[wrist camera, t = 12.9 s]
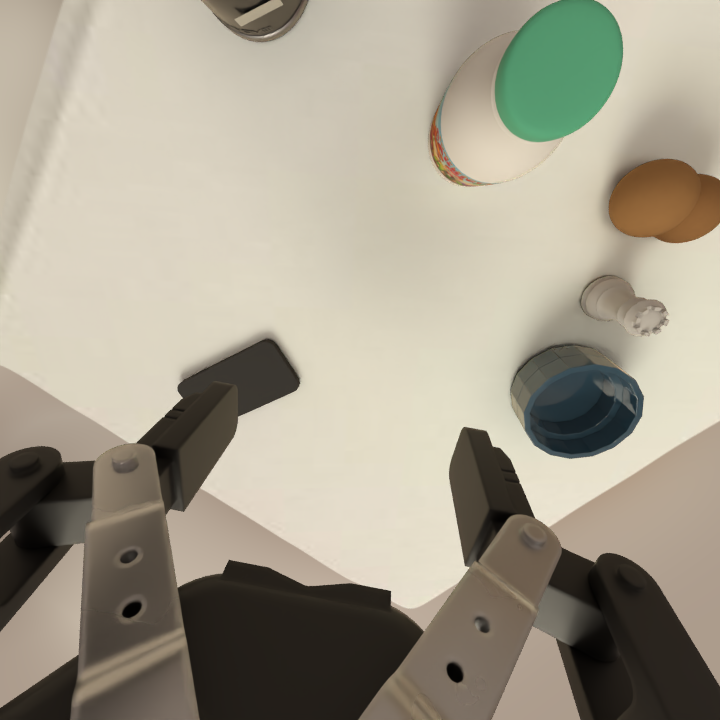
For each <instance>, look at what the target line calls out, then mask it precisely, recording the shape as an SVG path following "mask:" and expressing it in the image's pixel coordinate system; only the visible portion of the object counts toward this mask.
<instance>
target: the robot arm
mask: <svg viewBox="0 0 720 720" xmlns="http://www.w3.org/2000/svg"><path fill="white" fill-rule="evenodd" d="M201 1H202V2H203V3H204V4H205V5H206V6H207V7H208V8H209V9H210V10H211V11H212V12H213V13H214V15H215V16H216V17H217V18H218V19H219V20H220V21H221V22H222V23H223V24H224V25H225V26H226V27H227V28H228V29H229V30H231V31H232V32H233V33H235V34H236V35H238V36H240V37H242V38H244V39H247V40H250V41H255V42H266V41H271V40H274V39H277V38H279V37H281V36H282V35H284V34H285V33H287V32H288V31H289V30H290V29H291V28H292V27H293V26H294V25H295V24H296V23H297V21H298V20H299V18H300V17H301V15H302V13H303V12H304V9H305V7H306V5H307V2H308V0H201ZM237 423H238V389H237V386H236V385H233V384H228V383H222V382H217V381H214V382H212V383H211V384H210V385H209V386H208V387H207V388H206V389H205V390H204V391H203V392H202V393H198V392H195V393H193V394H191V395H189V396H187V397H185V398H183V399H181V400H180V401H179V402H178V403H177V404H176V405H175V406H174V407H173V409H172V410H170V411H169V412H168V413H167V414H166V415H165V417H163V418H162V419H161V420H160V421H159V422H157V423H156V424H155V425H154V426H153V427H152V428H151V429H150V430H149V431H148V432H147V433H146V434H145V435H144V436H143V437H142V438H141V439H140V440H139V441H138V442H137V443H132V444H124V445H120V446H117V447H114V448H112V449H110V450H108V451H106V452H105V453H103V454H102V455H101V456H99V457H98V458H97V460H96V461H82V462H62V458H61V454H60V453H59V451H57V450H56V449H54V448H51V447H45V446H41V447H40V446H39V447H30V448H25V449H22V450H19V451H15V452H13V453H10V454H8V455H6V456H4V457H2V458H1V459H0V538H1V537H2V536H3V535H4V534H5V533H6V532H7V531H9V530H10V532H11V533H10V534H9V535H8V536H7V537H6V538H5V539H4V540H3V541H2V542H1V543H0V631H1V630H2V629H3V628H4V627H5V626H6V624H7V623H8V622H9V621H10V620H11V618H12V617H13V616H14V615H15V614H16V612H17V611H18V610H19V609H20V608H21V606H22V605H23V604H24V603H25V602H26V601H27V599H28V598H29V597H30V596H31V595H32V593H33V592H34V591H35V590H36V589H37V587H38V586H39V585H40V584H41V583H42V582H43V580H44V579H45V578H46V577H47V576H48V574H49V573H50V572H51V571H52V570H53V568H54V567H55V566H56V565H57V564H58V562H59V561H60V560H61V559H62V558H63V556H64V555H65V554H66V553H67V552H68V551H69V549H70V548H71V547H72V546H73V545H74V544H80V543H84V561H83V581H82V601H81V621H80V639H79V655H77V656H76V657H75V658H73V659H72V660H70V661H69V662H67V663H66V664H64V665H63V666H61V667H60V668H58V669H57V670H55V671H54V672H52V673H51V674H49V676H47V677H45V678H44V679H42V680H41V681H39V682H38V683H36V684H35V685H33V686H32V687H30V688H29V689H28V690H26V691H25V692H23V693H22V694H20V695H19V696H17V697H16V698H14V699H13V700H11V701H10V702H9V703H7V704H6V705H4V706H3V707H1V708H0V720H491V719H492V717H493V715H494V712H495V710H496V708H497V706H498V703H499V701H500V699H501V696H502V694H503V692H504V690H505V687H506V685H507V683H508V680H509V678H510V676H511V674H512V671H513V669H514V667H515V664H516V662H517V660H518V657H519V655H520V653H521V651H522V649H523V646H524V644H525V641H526V639H527V637H528V635H529V633H530V630H531V628H532V626H533V627H535V628H537V629H539V630H541V631H543V632H545V633H547V634H549V635H551V636H552V637H554V638H556V640H557V644H558V647H559V650H560V653H561V657H562V660H563V663H564V667H565V670H566V673H567V676H568V680H569V683H570V686H571V690H572V693H573V696H574V700H575V703H576V706H577V709H578V713H579V716H580V719H581V720H720V686H719V685H718V683H717V681H716V680H715V678H714V676H713V675H712V673H711V671H710V670H709V668H708V666H707V665H706V663H705V661H704V660H703V658H702V657H701V655H700V653H699V652H698V650H697V648H696V647H695V645H694V643H693V642H692V640H691V638H690V637H689V635H688V633H687V632H686V630H685V629H684V627H683V625H682V624H681V622H680V620H679V619H678V617H677V615H676V614H675V612H674V611H673V609H672V607H671V605H670V604H669V602H668V601H667V599H666V597H665V596H664V594H663V593H662V591H661V589H660V587H659V586H658V585H657V583H656V582H655V580H654V579H653V578H652V577H651V576H650V575H649V574H648V573H647V572H646V571H645V570H644V569H643V568H641V567H640V566H639V565H637V564H636V563H634V562H633V561H631V560H629V559H627V558H625V557H623V556H620V555H617V554H612V553H605V554H602V555H600V556H599V558H598V559H597V560H596V562H595V563H594V562H592V561H590V560H588V559H585V558H583V557H581V556H579V555H576V554H574V553H572V552H570V551H568V550H566V549H563V548H562V547H561V544H560V542H559V540H558V538H557V536H556V535H555V534H554V533H553V531H552V530H551V529H550V528H548V527H547V526H546V525H545V524H543V523H542V522H540V521H539V520H537V519H535V517H534V514H533V512H532V510H531V507H530V505H529V503H528V500H527V498H526V495H525V493H524V491H523V488H522V486H521V484H519V482H520V481H519V479H518V476H517V474H515V469H514V467H513V465H512V462H511V460H510V459H509V458H508V456H507V455H506V454H505V453H504V452H503V451H502V450H501V449H500V448H496V447H493V446H492V444H491V441H490V438H489V436H488V433H487V431H484V430H478V429H473V428H467V427H464V428H463V429H462V430H461V433H460V436H459V439H458V442H457V445H456V448H455V451H454V453H453V456H452V459H451V463H450V469H449V479H450V485H451V491H452V496H453V502H454V507H455V513H456V518H457V524H458V530H459V535H460V541H461V546H462V552H463V557H464V563H465V566H468V567H470V568H469V569H468V571H467V572H466V574H465V575H464V576H463V578H462V579H461V581H460V582H459V583H458V585H457V586H456V588H455V589H454V591H453V592H452V593H451V595H450V596H449V597H448V599H447V600H446V602H445V603H444V605H443V606H442V607H441V609H440V610H439V612H438V613H437V614H436V616H435V617H434V619H433V620H432V621H431V623H430V624H429V626H428V627H427V629H426V630H425V631H423V630H422V629H421V628H420V627H419V626H418V625H417V624H416V623H415V622H414V621H413V620H412V619H410V618H409V617H408V616H407V615H405V614H404V613H403V612H401V611H399V610H398V609H396V608H394V607H392V606H391V591H388V590H383V589H378V588H373V587H367V586H362V585H357V584H350V583H349V584H335V585H323V586H305V585H303V584H301V583H299V582H296V581H295V580H293V579H290V578H288V577H286V576H284V575H282V574H280V573H278V572H276V571H274V570H272V569H270V568H268V567H262V566H257V565H252V564H247V563H242V562H237V561H231V560H229V561H228V563H227V565H226V567H225V570H224V572H223V574H215V575H210V576H205V577H202V578H199V579H195V580H193V581H191V582H188V583H186V584H184V585H182V586H180V587H178V588H177V582H176V576H175V569H174V564H173V557H172V551H171V545H170V539H169V533H168V527H167V521H166V514H167V513H168V511H169V510H170V509H173V510H178V511H183V512H184V511H185V509H186V507H187V506H188V505H189V503H190V502H191V500H192V499H193V497H194V495H195V494H196V493H197V491H198V490H199V488H200V487H201V485H202V484H203V482H204V481H205V479H206V478H207V476H208V475H209V473H210V472H211V470H212V469H213V467H214V466H215V464H216V463H217V461H218V460H219V458H220V457H221V455H222V454H223V452H224V451H225V449H226V448H227V446H228V445H229V443H230V442H231V440H232V439H233V437H234V435H235V432H236V429H237Z"/></svg>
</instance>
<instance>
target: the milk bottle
mask: <svg viewBox="0 0 720 720" xmlns="http://www.w3.org/2000/svg"><path fill="white" fill-rule="evenodd" d="M622 58H623V42H622V35H621V32H620V28H619V26H618V23H617V21H616V19H615V18H614V16H613V15H612V13H611V12H610V11H609V10H608V9H607V8H606V7H604V6H603V5H602V4H600V3H599V2H596V1H594V0H560V1H558V2H555V3H552V4H550V5H548V6H546V7H545V8H543V9H541V10H540V11H539V12H537V13H536V14H535V15H534V16H532V17H531V18H530V19H529V20H528V21H527V22H526V23H525V24H524V26H523V27H522V28H521V29H520V30H517V31H512V32H508V33H505V34H502V35H500V36H498V37H496V38H494V39H492V40H490V41H489V42H487V43H485V44H484V45H483V46H481V47H480V48H479V49H478V50H477V51H475V52H474V53H473V54H472V55H471V56H470V57H469V58H468V59H467V60H466V61H465V62H464V64H463V65H462V66H461V67H460V69H459V70H458V72H457V73H456V75H455V76H454V78H453V79H452V81H451V83H450V85H449V86H448V88H447V90H446V92H445V94H444V96H443V98H442V100H441V102H440V104H439V106H438V109H437V111H436V113H435V115H434V117H433V120H432V123H431V127H430V131H429V137H428V149H429V155H430V159H431V161H432V164H433V166H434V168H435V169H436V171H437V172H438V173H439V174H440V176H441V177H443V178H444V179H445V180H447V181H448V182H450V183H452V184H455V185H458V186H465V187H472V186H483V185H491V184H498V183H502V182H506V181H510V180H513V179H516V178H519V177H521V176H523V175H525V174H526V173H528V172H530V171H531V170H533V169H535V168H536V167H537V166H539V165H540V164H541V163H542V162H544V161H545V160H546V159H547V158H548V157H549V156H550V155H551V154H552V153H553V151H554V150H555V149H556V148H557V147H558V145H559V144H560V142H561V141H562V139H563V138H564V136H566V135H569V134H571V133H573V132H575V131H576V130H578V129H580V128H581V127H582V126H584V125H585V124H586V123H588V122H589V121H590V120H591V119H592V118H593V117H594V116H595V115H596V114H597V113H598V112H599V110H600V109H601V108H602V107H603V105H604V104H605V103H606V101H607V100H608V98H609V96H610V95H611V93H612V91H613V89H614V87H615V85H616V82H617V80H618V77H619V73H620V70H621V65H622Z"/></svg>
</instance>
